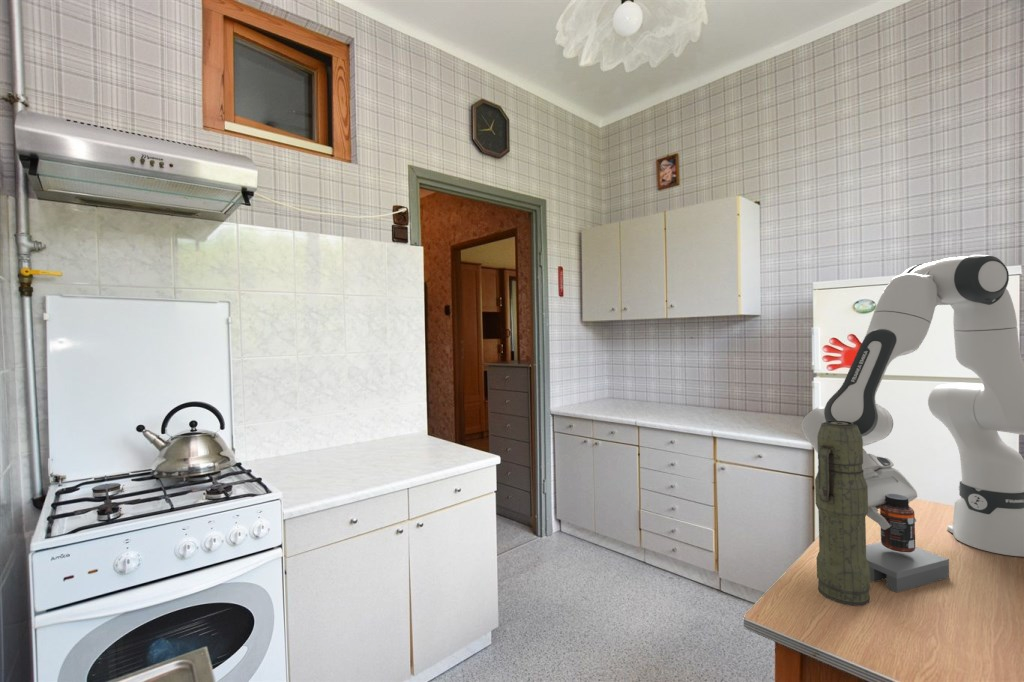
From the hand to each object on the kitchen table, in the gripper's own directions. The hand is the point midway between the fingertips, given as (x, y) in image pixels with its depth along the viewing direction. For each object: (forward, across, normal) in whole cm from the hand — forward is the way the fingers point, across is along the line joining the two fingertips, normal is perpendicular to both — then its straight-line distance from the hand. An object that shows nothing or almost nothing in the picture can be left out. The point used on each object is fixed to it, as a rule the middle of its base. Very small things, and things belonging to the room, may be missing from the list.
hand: (900, 525), depth 105 cm
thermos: (+9, -19, +6) cm, 22 cm away
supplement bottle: (+3, 0, +4) cm, 5 cm away
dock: (+7, -1, +8) cm, 11 cm away
